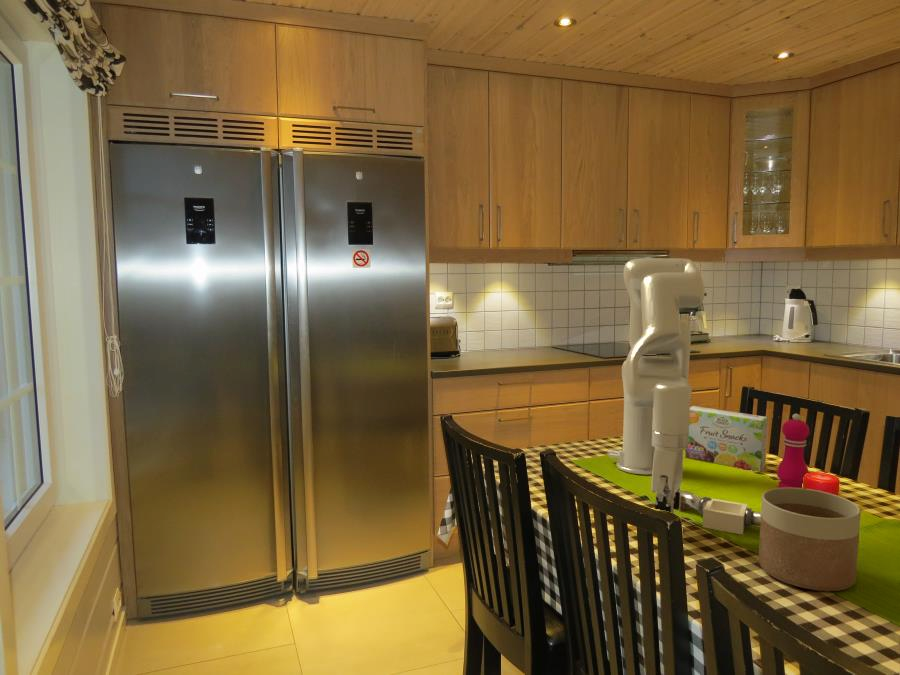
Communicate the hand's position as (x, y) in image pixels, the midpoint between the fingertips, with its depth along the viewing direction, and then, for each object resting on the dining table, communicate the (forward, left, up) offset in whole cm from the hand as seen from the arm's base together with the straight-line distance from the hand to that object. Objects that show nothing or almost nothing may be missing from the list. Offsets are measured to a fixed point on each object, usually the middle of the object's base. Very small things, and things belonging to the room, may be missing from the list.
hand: (667, 515), depth 143 cm
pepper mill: (+23, +38, -2) cm, 44 cm away
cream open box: (+11, +7, -2) cm, 13 cm away
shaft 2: (+20, +7, -2) cm, 21 cm away
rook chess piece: (0, 0, -2) cm, 2 cm away
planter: (+27, -10, -3) cm, 29 cm away
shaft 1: (+3, +12, -2) cm, 12 cm away
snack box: (+5, +55, -3) cm, 55 cm away
